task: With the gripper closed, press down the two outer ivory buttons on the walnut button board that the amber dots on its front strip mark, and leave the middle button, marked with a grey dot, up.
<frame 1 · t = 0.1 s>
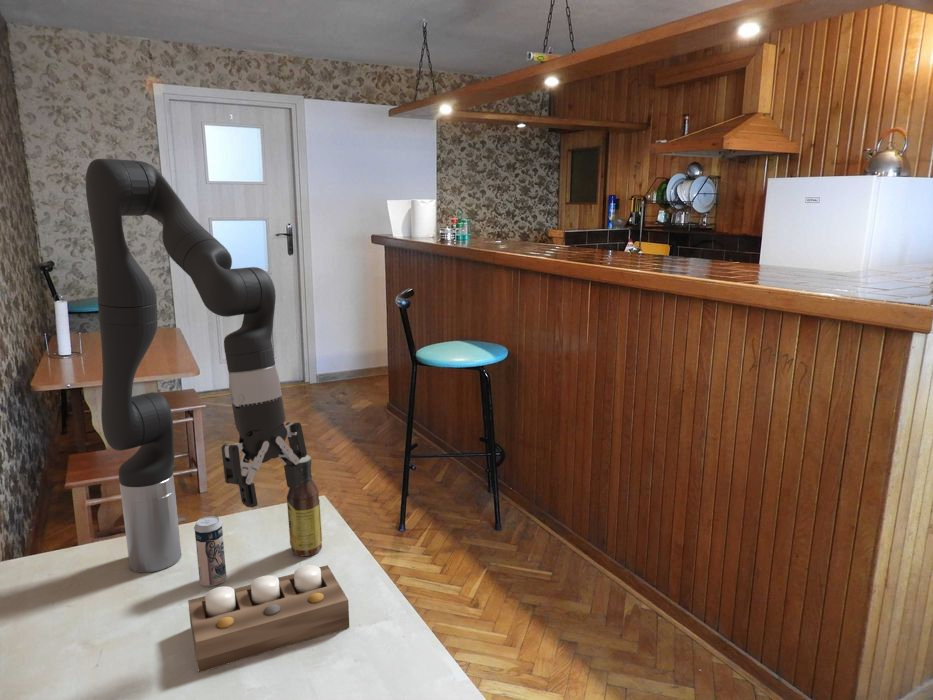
hand: (273, 496, 104), 22 cm above the table, tool pointing down, fingers open, 8 cm apart
button board: (270, 627, 107), on the table
sauce bottle: (306, 551, 131), on the table
button 3: (307, 580, 111), point 6 cm above the table, slide at 0.0 cm
beer can: (213, 582, 121), on the table
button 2: (265, 591, 108), point 6 cm above the table, slide at 0.0 cm
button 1: (220, 602, 104), point 6 cm above the table, slide at 0.0 cm
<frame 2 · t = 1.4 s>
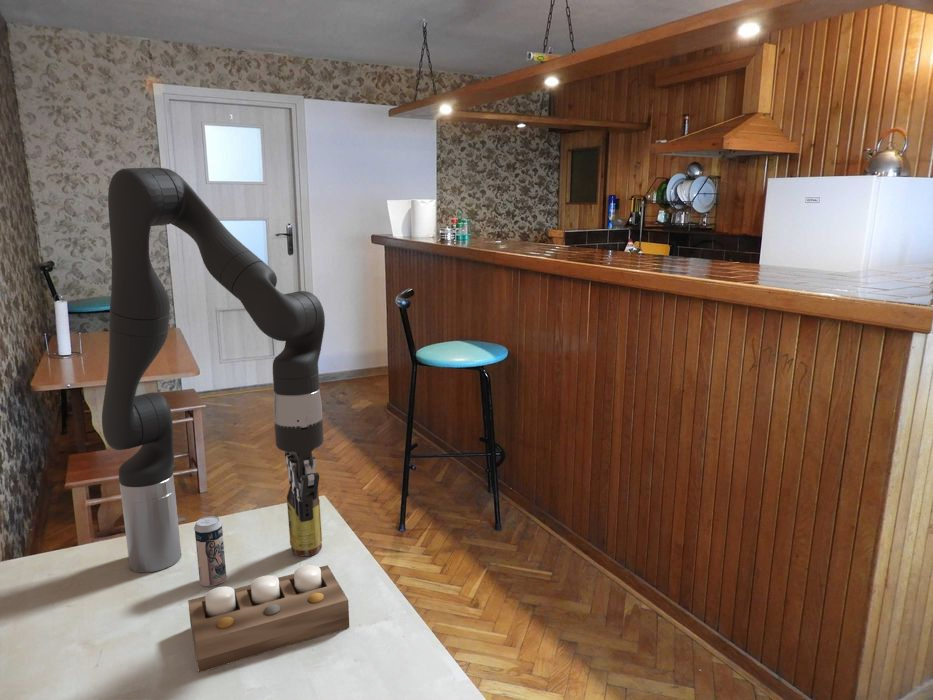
hand: (304, 516, 108), 17 cm above the table, tool pointing down, fingers closed
nothing on the table moved.
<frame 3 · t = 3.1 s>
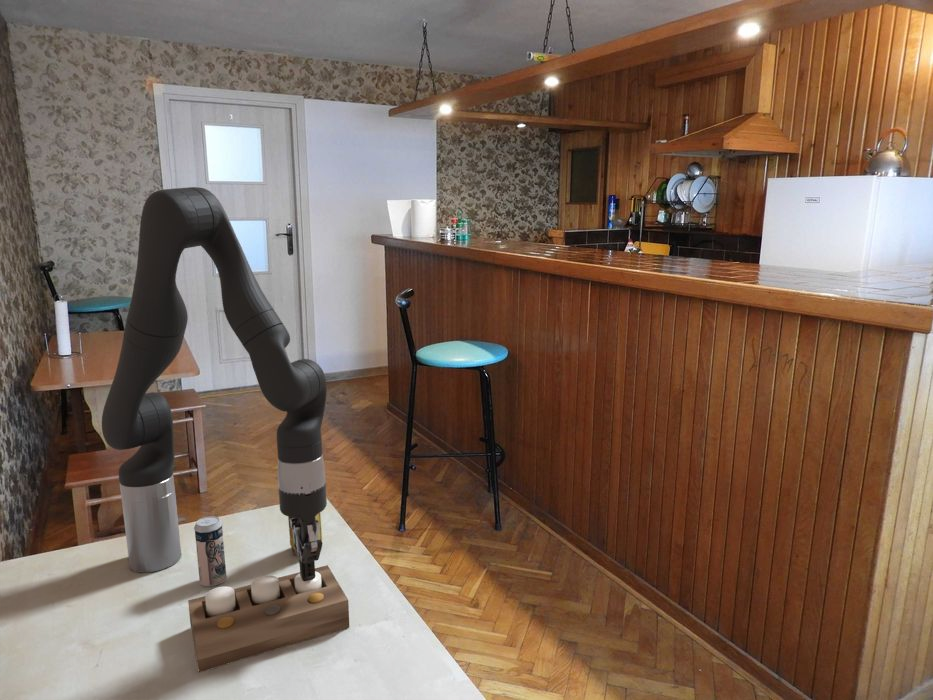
hand: (308, 578, 111), 6 cm above the table, tool pointing down, fingers closed
button 3: (308, 585, 111), point 4 cm above the table, slide at 1.1 cm, touching gripper
everything else where it was.
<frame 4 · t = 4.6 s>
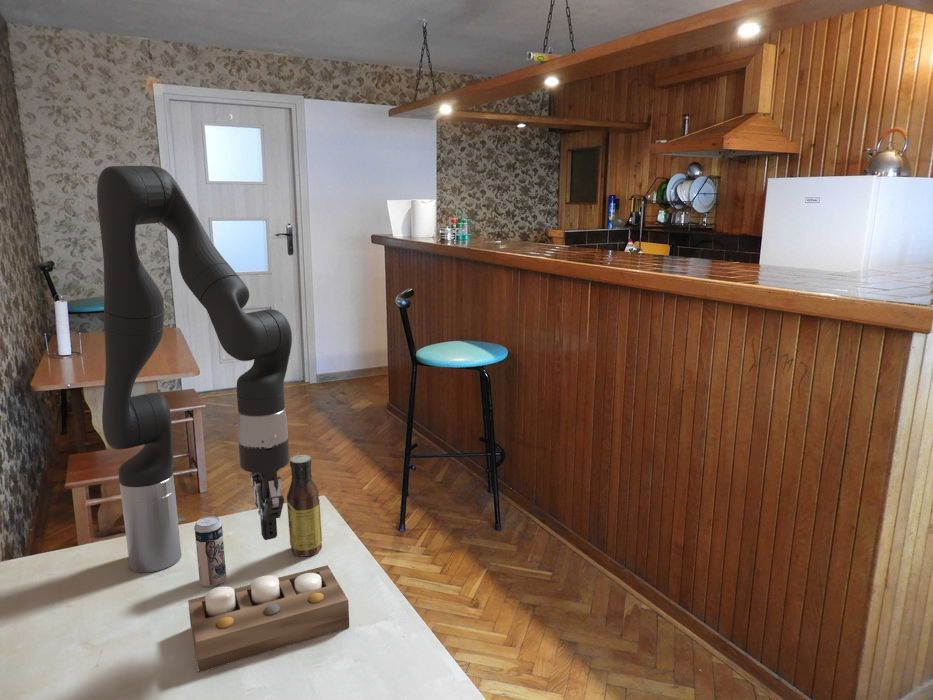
hand: (269, 537, 107), 14 cm above the table, tool pointing down, fingers closed
button 3: (308, 587, 111), point 4 cm above the table, slide at 1.5 cm
everything else where it was.
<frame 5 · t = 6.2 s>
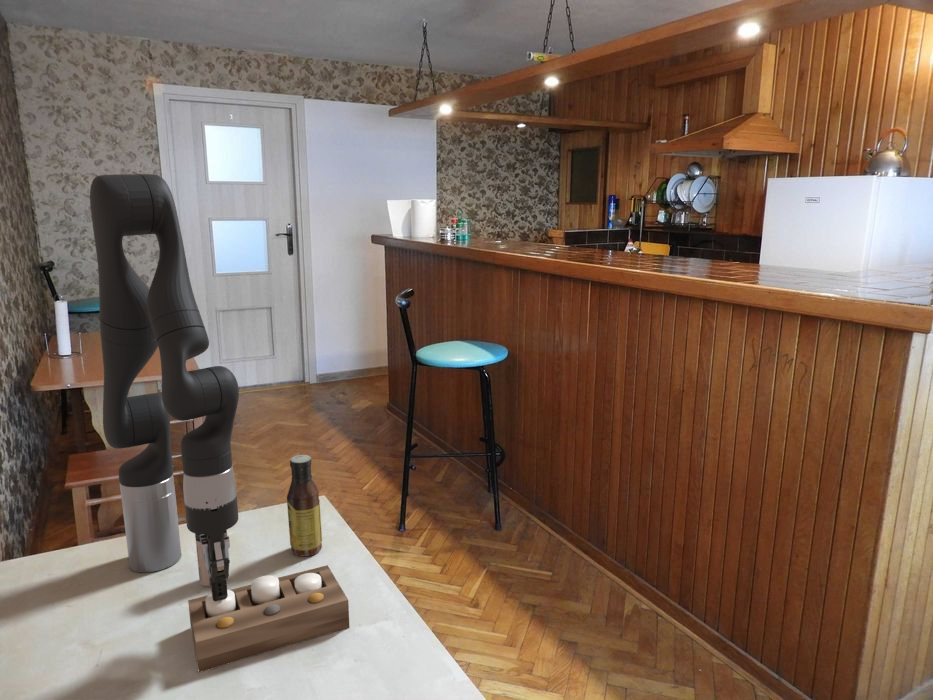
hand: (219, 597, 104), 6 cm above the table, tool pointing down, fingers closed
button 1: (220, 605, 105), point 5 cm above the table, slide at 0.6 cm, touching gripper
everything else where it was.
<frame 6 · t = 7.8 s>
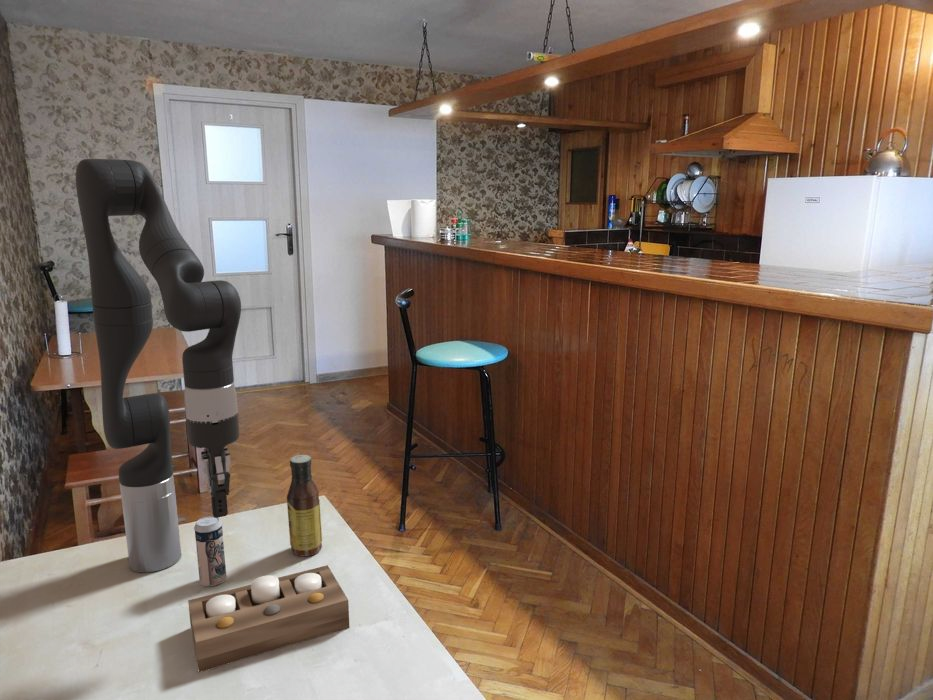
hand: (220, 515, 104), 19 cm above the table, tool pointing down, fingers closed
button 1: (221, 610, 105), point 4 cm above the table, slide at 1.5 cm
everything else where it was.
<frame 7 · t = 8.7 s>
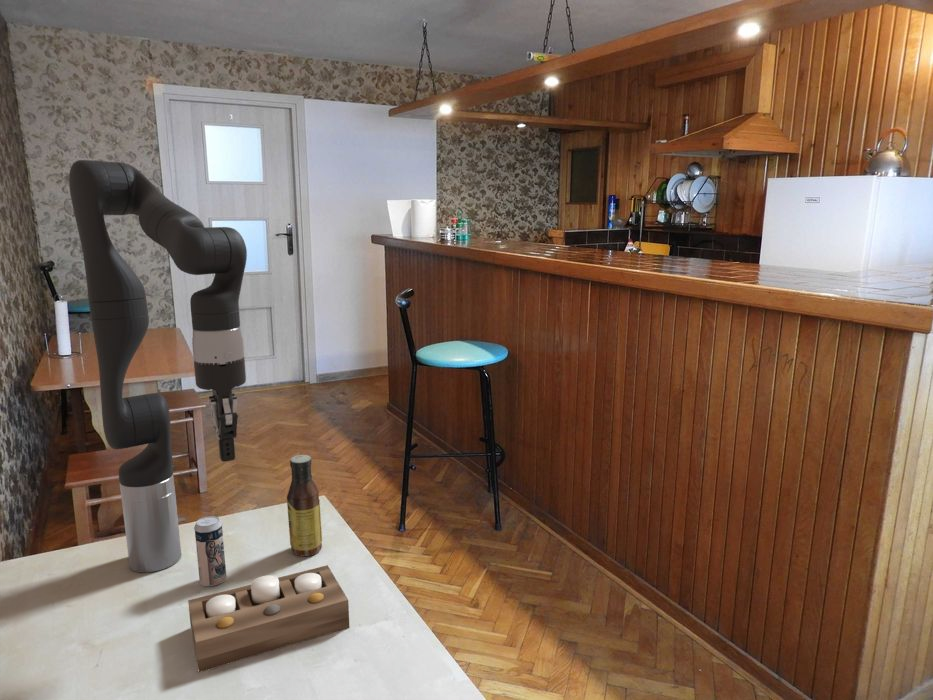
hand: (227, 459, 107), 27 cm above the table, tool pointing down, fingers closed
nothing on the table moved.
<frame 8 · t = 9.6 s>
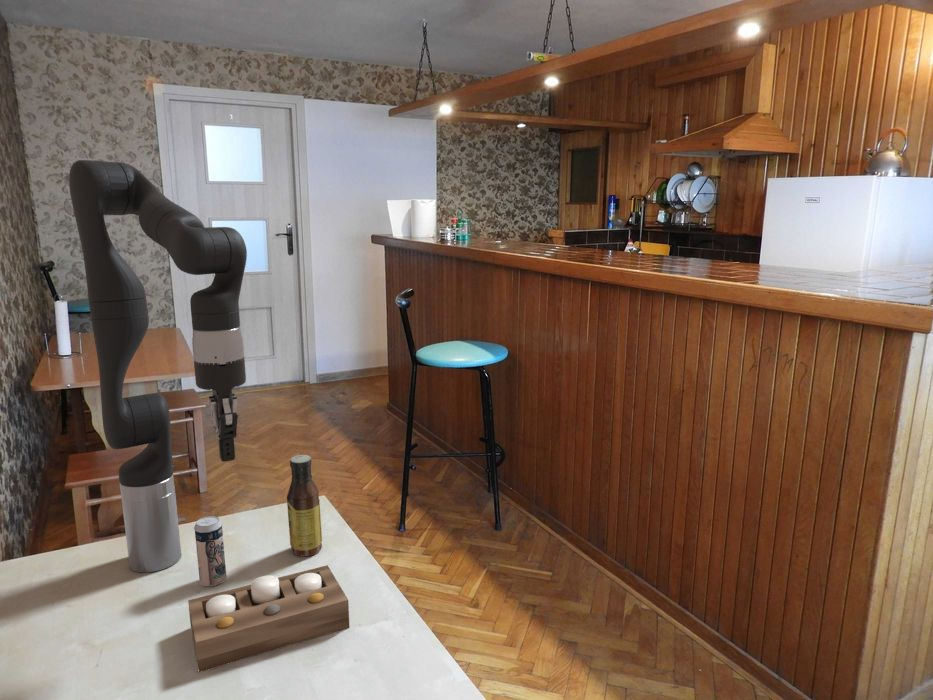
hand: (227, 459, 107), 27 cm above the table, tool pointing down, fingers closed
nothing on the table moved.
at the end: button 3 slide at 1.5 cm; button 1 slide at 1.5 cm; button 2 slide at 0.0 cm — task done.
